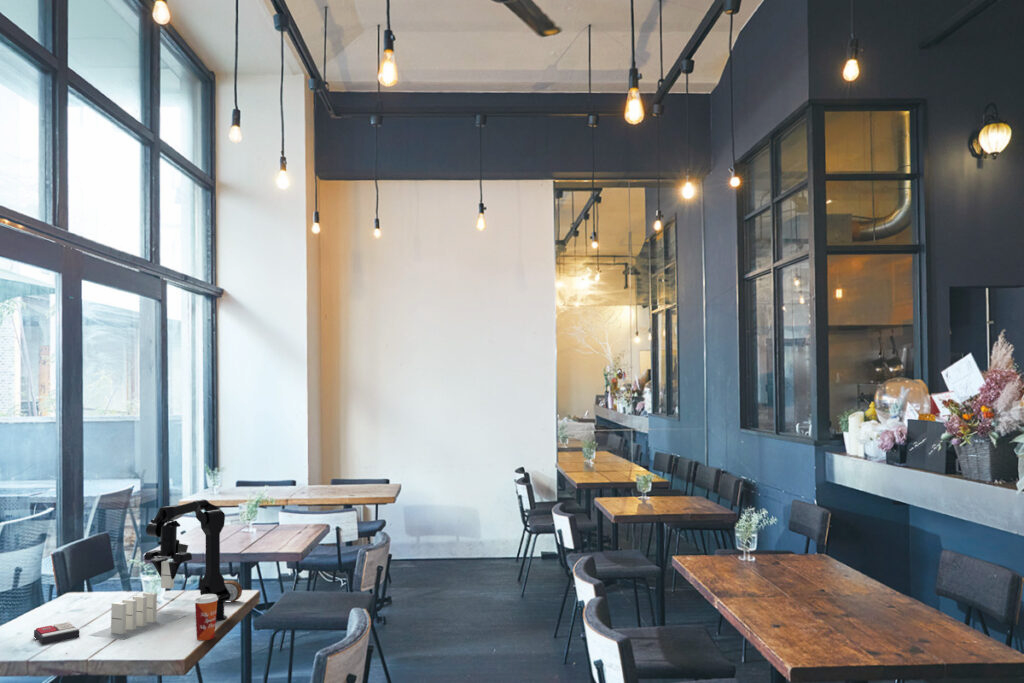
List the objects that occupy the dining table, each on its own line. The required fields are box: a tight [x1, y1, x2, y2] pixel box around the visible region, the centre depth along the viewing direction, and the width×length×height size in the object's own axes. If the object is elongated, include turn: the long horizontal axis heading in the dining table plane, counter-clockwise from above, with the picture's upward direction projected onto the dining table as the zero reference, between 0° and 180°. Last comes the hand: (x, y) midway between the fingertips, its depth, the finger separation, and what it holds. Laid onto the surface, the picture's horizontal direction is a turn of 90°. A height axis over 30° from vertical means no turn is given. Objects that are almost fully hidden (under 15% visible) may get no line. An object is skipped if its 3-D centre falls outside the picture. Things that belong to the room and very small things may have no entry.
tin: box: [217, 579, 243, 603], centre depth 294 cm, size 15×3×8 cm, turn 84°
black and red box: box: [33, 621, 80, 646], centre depth 250 cm, size 11×4×15 cm
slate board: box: [89, 612, 186, 641], centre depth 261 cm, size 28×16×1 cm, turn 161°
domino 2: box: [121, 598, 137, 630], centre depth 257 cm, size 2×5×10 cm, turn 71°
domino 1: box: [110, 601, 126, 634], centre depth 253 cm, size 2×5×10 cm, turn 71°
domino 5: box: [160, 560, 175, 590], centre depth 284 cm, size 2×5×10 cm, turn 71°
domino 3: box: [132, 595, 147, 626], centre depth 261 cm, size 2×5×10 cm, turn 71°
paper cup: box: [193, 594, 218, 642], centre depth 249 cm, size 8×8×14 cm
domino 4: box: [142, 591, 158, 622], centre depth 266 cm, size 2×5×10 cm, turn 71°
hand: (167, 578), depth 284 cm, fingers closed on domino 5, 5 cm apart
